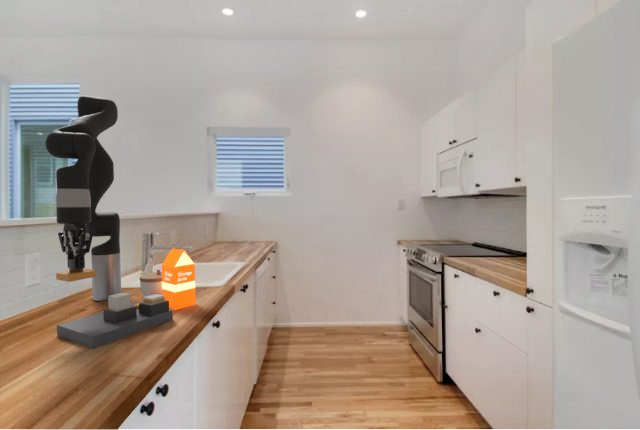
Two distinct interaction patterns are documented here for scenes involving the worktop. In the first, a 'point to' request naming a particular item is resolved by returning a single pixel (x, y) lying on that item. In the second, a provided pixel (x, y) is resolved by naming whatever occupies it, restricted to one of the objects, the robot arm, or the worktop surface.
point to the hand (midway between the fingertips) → (76, 268)
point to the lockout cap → (75, 273)
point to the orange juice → (178, 279)
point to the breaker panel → (114, 324)
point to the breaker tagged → (153, 299)
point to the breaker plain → (119, 302)
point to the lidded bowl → (151, 283)
